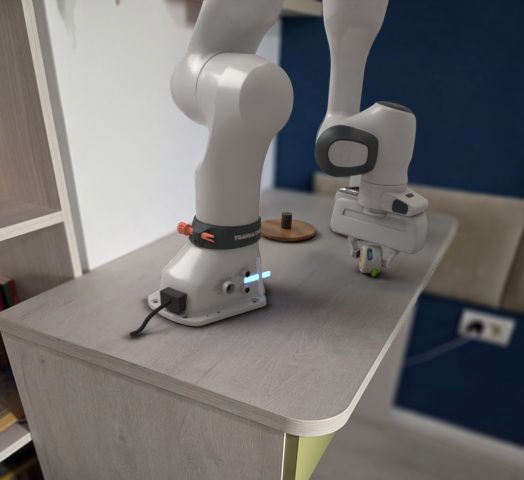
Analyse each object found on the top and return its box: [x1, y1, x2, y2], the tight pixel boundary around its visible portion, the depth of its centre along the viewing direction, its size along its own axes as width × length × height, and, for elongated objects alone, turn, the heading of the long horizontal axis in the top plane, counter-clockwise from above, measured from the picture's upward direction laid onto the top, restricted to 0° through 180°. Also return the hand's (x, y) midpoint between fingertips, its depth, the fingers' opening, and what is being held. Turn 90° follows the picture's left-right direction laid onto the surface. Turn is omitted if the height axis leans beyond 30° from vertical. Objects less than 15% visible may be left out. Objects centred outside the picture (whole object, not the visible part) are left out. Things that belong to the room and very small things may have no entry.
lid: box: [261, 211, 316, 242], centre depth 123 cm, size 15×15×5 cm
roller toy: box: [358, 244, 384, 277], centre depth 103 cm, size 4×6×6 cm
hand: (370, 262), depth 104 cm, fingers closed on roller toy, 6 cm apart
